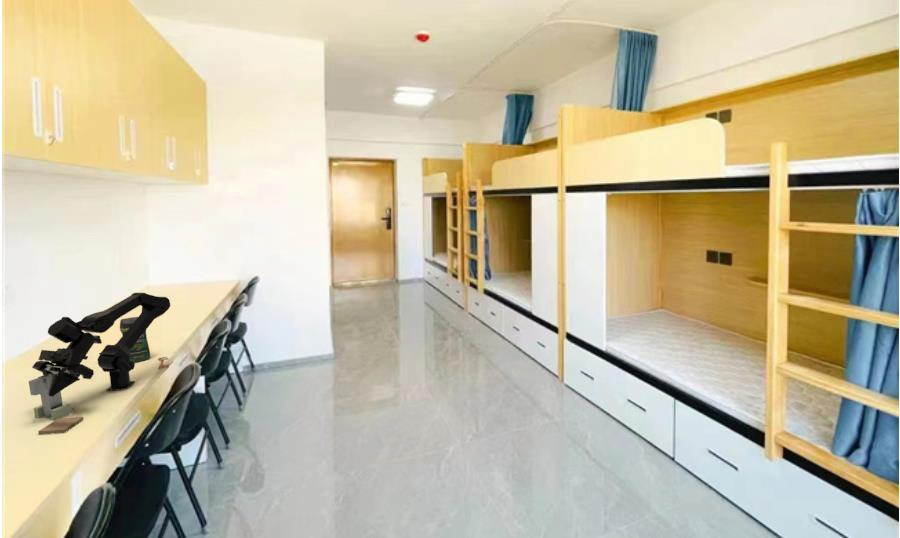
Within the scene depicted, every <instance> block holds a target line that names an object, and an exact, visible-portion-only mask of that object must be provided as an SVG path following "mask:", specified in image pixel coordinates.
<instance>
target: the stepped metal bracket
mask: <svg viewBox="0 0 900 538" xmlns="http://www.w3.org/2000/svg"><path fill="white" fill-rule="evenodd" d="M57 379H58V374H53V373H49V374H46V375H43V374H42V375H41V376H37V378H34V379H31V380H28V388H29V393H30V396H38V395H40V394H41V395H40V399H41V405H42V406H43V413H44V416H43V417H44V418H51V419H52V416H51V410H53V409H55V408H58V407H60V406H63V405H64V404H63V397H62V390H61V391H60V392H59V393H57V394H56V395H54V396H49V394H50V391H51V390H52V388H53V386H54V385H55V383H56V381H57Z"/></svg>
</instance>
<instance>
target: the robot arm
mask: <svg viewBox="0 0 900 538" xmlns="http://www.w3.org/2000/svg"><path fill="white" fill-rule="evenodd" d="M140 306H141V313H140V314H139V316H137V317H138V318H137V319H136V320H135V322H134V323H133V324H132V325H131V326H130V328H129V329H128V330H127V331H126V333H125V334H124V335H122V336H121V337H120V338H119V340H117V342H116V343H115V344H107V345H105V346H104V348H103V350H102V351H101V352H100V353H98V354H99V355H98V357H97V364H98V367H99V368H101V370H102V371H103V372H104V373H106V372H107V373H109V382H110V386H109V387H108V388H106V391H107V390H108V391H119V390H127V389H128V388H130V387H131V386H132V385H134V384H135V383H136V381H135V380H132V381H131V378H130V372H131V370H132V371H133V370H134V369H135V365H136V362H132V361H130V360H129V358H130V350H131V348H132V347H133V346H134V345H135V343H136V342H137V341H138V339H139V338H140V337H141V336H142V334H143V333H144V332H145V331H146V332H147V329H148V328H149V326H151V324H152V323H153V321H154V320H155V319H157V318H159V317H161V316H163V315H164V314H165V313H166V312H167V311H168V310H169V309H170V308H171V301H170V299H169V298H168V297H166V296H156V295H154V294H153V295H151V294H149V293H146V292H133V293H131V295H129V296H128V297H126V298H124V299H122V300H121V301H119V302H117V303H115V304H114V305H112V306H110V307H109V308H107V309H104V310H102V311H98V312H93V313H91V314H89V315H86V316H83V318H82V319H81V320H79V321H77V322H75V321H74V320H72V318H71V317H69V316H62V317H61V318H60V319H59V320H57V321H55V322H53V324H51V325H50V326H49V327H48V329H47V334H48V335H49V336H51V337H53V338H55V339H57V340H59V341H61V343H64V344H68V345H67V346H66V347H62V348H57V350H48V349H41V350H40V352H39V353H40V355H39V357H38V361H36V362H35V363H33V366H32V367H31V368H32V369H34V370H37V371H38V372H40V373H42V376H43V375H46V374H49V373H53V374H58V379H57V381H56V383H55V385H54V386H53V388H52V390H51V391H50V394H49V396H54V395H56V394H57V393H59V392H60V391H61V392H62V391H63V390H64V389H66V388H68V387H70V386H71V385H72V384H74V383H76V382H78V381H80V380H81V378H80V376H82V379H84V380H91V379H92V378H93V376H94V375H95V374H94V373H95V372H94V369H92V368H90V367H88V366H87V365H84V364H82V361H83V360H87V359H88V358H89V356H87V355H88V353H89V351H90V350H91V348H92V347H93V346H94V344H102V343H103V341H102V339H101V336H100V335H94V333H95V334H103V333H106V332H107V331H108V330H110V328H112V327H113V326H114V324H115V322H116V321H117V320H118V319H120V318H122V317H123V316H125V315H126V314H128V313H130V312H131V311H134V309H137V308H138V307H140ZM92 333H93V334H92ZM108 391H107V392H108ZM39 395H40V396H41V394H39Z"/></svg>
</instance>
